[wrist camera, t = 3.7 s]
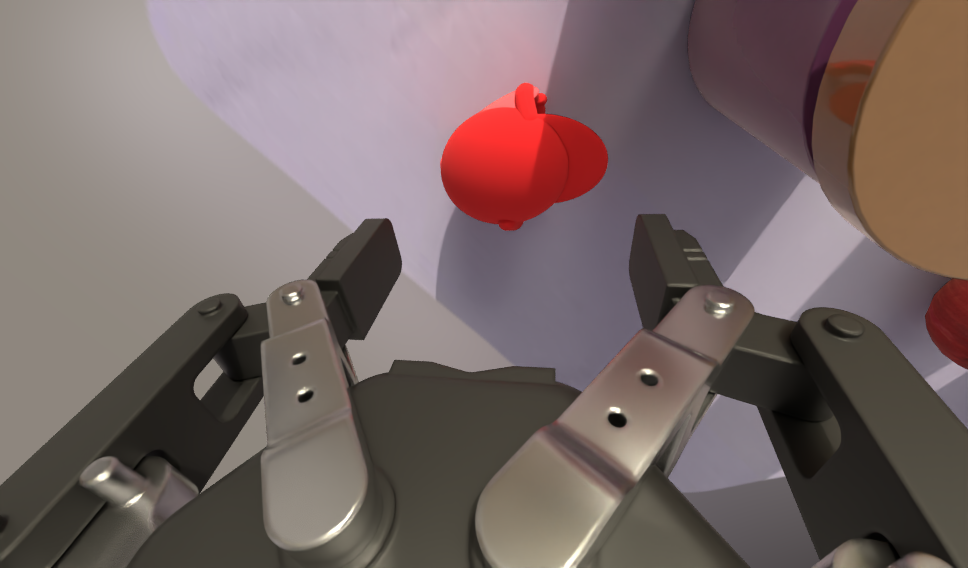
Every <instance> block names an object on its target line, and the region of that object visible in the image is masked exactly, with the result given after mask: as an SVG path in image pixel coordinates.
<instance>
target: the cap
mask: <svg viewBox="0 0 968 568" xmlns="http://www.w3.org/2000/svg"><path fill="white" fill-rule="evenodd" d="M538 92H539V89H538V88H537V87H534V86H532V85H531V84H529V83H523V84H521V85H520V86H519V87H518V88H517V89H516V91H514V92H511V93H509V94H507V95H505V96H503V97H502V98H500V99H498V100H496V101H495V102H493V103H492V104H490V105H489V106H487V107H486V108H484V109H483V110H482V111H480V112H479V113H477V114H476V115H474V116H472V117H470V118H469V119H467V120H466V121H465V122H464V123H462V124H461V125H460V126H459V127H458V128H457V129H456V130H455V132H454V133H453V134H452V136H451V137H450V139H449V140H448V142H447V144H446V146H445V149H444V152H443V155H442V159H441V162H440V167H441V177H442V182H443V185H444V188H445V190H446V192H447V194H448V196H449V197H450V199H451V200H452V202H453V203H454V204H455V205H456V206H457V207H458V208H459V209H460V210H461V211H463V212H464V213H466V214H467V215H469V216H471V217H473V218H475V219H477V220H480V221H483V222H487V223H492V224H499V227H500V228H501V229H503V230H505V231H510V230H517V229H519V228H520V227H521V226H522V224H523V222H524V221H526V220H529V219H531V218H534V217H536V216H538V215H539V214H541V213H543V212H544V211H546V210H547V209H548V208H549V207H551V206H552V205H553V204H554V203H559V202H564V201H568V200H571V199H574V198H577V197H579V196H581V195H583V194H585V193H587V192H588V191H590V190H591V189H592V188H594V187H595V186H596V185H597V184H598V183H599V182H600V180H601V179H602V177H603V176H604V174H605V172H606V169H607V165H608V154H607V150H606V147H605V145H604V143H603V142H602V140H601V139H600V137H599V136H598V135H597V134H596V133H595V132H594V131H593V130H591V129H590V128H589V127H587V126H586V125H584V124H582V123H580V122H578V121H576V120H573V119H570V118H567V117H563V116H559V115H552V114H545V106H544V105H545V104H546V102H547V97H546V95H545V94H542V93H538Z"/></svg>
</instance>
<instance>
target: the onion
mask: <svg viewBox="0 0 968 568" xmlns="http://www.w3.org/2000/svg"><path fill="white" fill-rule="evenodd" d="M925 320H926V327H927V330H928V332H929V335H930V337H931V339H932V341H933V342H934V343H935V345H936V346H937V347H938V348H939V350H940V351H941V352H942V354H944V355H945V356H947V357H948V358H949V359H951V360H952V361H953V362H955V363H956V364H958V365H960V366H962V367H964V368H966V369H968V280H962V279H955V278H952V279H951V280H950V281H949V282H947V283H946V284H945V285H944V286H943V287H942V288H941V289H940V290H939V291H938V292H937V293H936V294H935V295H934V297H933V299H932V301H931V304H930V306H929V308H928V310H927V313H926V315H925Z"/></svg>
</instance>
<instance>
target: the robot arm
mask: <svg viewBox="0 0 968 568" xmlns="http://www.w3.org/2000/svg"><path fill="white" fill-rule="evenodd" d="M401 268H402V260H401V255H400V251H399V248H398V244H397V241H396V237H395V233H394V230H393V226H392V223H391V221H390V220H389V219H387V218H385V219H365V220H364V221H363V222H362V224H361V225H360V226H359V227H358V228H357V230H356V231H355V232H354V233H352V234H350V235H349V236H347V237H346V238H344V239H343V240H341V241H340V242H339V243H338V244H337V245H336V246H335V248H334V249H333V251H332V252H330V253H329V254H328V256H327V257H326V259H324V260H323V261H322V263H321V264H320V265H319V266H318V267H317V268H316V269H315V271H314V272H313V273H312V274H311V275H310V276H309V278H308V279H307V280H297V281H293V282H289V283H287V284H285V285H283V286H281V287H279V288H277V289H276V290H275V291H273V292H272V293H271V294H270V295H269V297H268V299H267V301H266V303H261V304H256V305H251V306H246V307H244V306H243V305H242V303H241V301H240V299H239V298H238V297H237V296H236V295H234V294H229V293H228V294H219V295H215V296H212V297H209V298H207V299H205V300H203V301H201V302H199V303H197V304H196V305H194V306H193V307H192V308H190V309H189V310H188V311H187V312H186V313H185V314H184V315H183V316H182V317H181V318H180V319H179V320H178V321H176V322H175V323H174V324H173V325H172V326H171V327H170V328H169V329H168V330H167V331H166V332H165V333H164V334H162V335H161V336H160V337H159V338H158V339H157V340H156V341H155V342H154V343H153V344H152V345H151V346H150V347H148V348H147V349H146V350H145V351H144V352H143V353H142V354H141V355H140V356H139V357H138V358H137V359H136V360H135V361H133V362H132V363H131V364H130V365H129V366H128V367H127V368H126V369H125V370H124V371H123V372H122V373H121V374H120V375H118V376H117V377H116V378H115V379H114V380H113V381H112V382H111V383H110V384H109V385H108V386H107V387H106V388H105V389H103V390H102V391H101V392H100V393H99V394H98V395H97V396H96V397H95V398H94V399H93V400H92V401H91V402H90V403H89V404H88V405H86V406H85V407H84V408H83V409H82V410H81V411H80V412H79V413H78V414H77V415H76V416H75V417H73V418H72V419H71V420H70V421H69V422H68V423H67V424H66V425H65V426H64V427H63V428H62V429H61V430H60V431H58V432H57V433H56V434H55V435H54V436H53V437H52V438H51V439H50V440H49V441H48V442H47V443H46V444H45V445H43V446H42V447H41V448H40V449H39V450H38V451H37V452H36V453H35V454H34V455H33V456H32V457H31V458H30V459H28V460H27V461H26V462H25V463H24V464H23V465H22V466H21V467H20V468H19V469H18V470H17V471H16V472H15V473H14V474H13V475H12V476H10V477H9V478H8V479H7V480H6V481H5V482H4V483H3V484H2V485H1V486H0V568H750V567H749V565H748V564H747V563H746V562H745V561H744V560H743V559H742V558H741V557H740V556H739V555H738V554H737V553H736V552H735V550H734V549H733V548H732V547H731V546H730V545H729V544H728V543H727V542H726V541H725V540H724V538H722V536H721V535H720V534H719V533H718V532H717V531H716V530H715V529H714V528H713V527H712V526H711V525H710V523H709V522H708V521H707V520H706V519H705V518H704V517H703V516H702V515H701V514H700V513H699V512H698V510H697V509H696V508H695V507H694V506H693V505H692V504H691V503H690V502H689V501H688V500H687V499H686V497H685V496H684V495H683V494H682V493H681V492H680V491H679V490H678V489H677V488H676V487H675V486H674V484H673V483H672V482H671V481H670V480H669V479H668V477H669V475H670V473H671V472H672V470H673V468H674V466H675V465H676V463H677V461H678V459H679V457H680V455H681V453H682V451H683V449H684V448H685V446H686V444H687V442H688V441H689V439H690V437H691V436H692V434H693V433H694V431H695V429H696V428H697V426H698V425H699V423H700V421H701V420H702V418H703V417H704V415H705V413H706V412H707V410H708V409H709V407H710V405H711V404H712V402H713V401H714V399H715V397H716V396H717V394H720V395H723V396H726V397H730V398H733V399H736V400H739V401H743V402H746V403H749V404H752V405H756V406H757V408H758V410H759V413H760V415H761V418H762V420H763V423H764V425H765V427H766V430H767V432H768V435H769V437H770V440H771V442H772V445H773V447H774V449H775V452H776V454H777V457H778V459H779V462H780V464H781V466H782V469H783V471H784V474H785V476H786V478H787V481H788V484H789V486H790V488H791V491H792V493H793V496H794V498H795V501H796V503H797V505H798V508H799V510H800V513H801V515H802V517H803V520H804V522H805V525H806V527H807V530H808V532H809V535H810V537H811V540H812V542H813V544H814V547H815V549H816V552H817V554H818V557H819V559H820V561H819V562H818V563H817V564H815V565H814V566H813V567H812V568H968V429H967V428H966V427H965V426H964V425H963V423H962V422H961V421H960V420H959V419H958V418H957V416H956V415H955V414H954V413H953V412H952V411H951V410H950V408H949V407H948V406H947V405H946V404H945V403H944V401H943V400H942V399H941V398H940V397H939V396H938V395H937V393H936V392H935V391H934V390H933V389H932V388H931V386H930V385H929V384H928V383H927V382H926V381H925V380H924V378H923V377H922V376H921V375H920V374H919V373H918V371H917V370H916V369H915V368H914V367H913V366H912V365H911V363H910V362H909V361H908V360H907V359H906V358H905V356H904V355H903V354H902V353H901V352H900V351H899V350H898V348H897V347H896V346H895V345H894V344H893V343H892V341H891V340H890V339H889V338H888V337H887V336H886V335H885V333H884V332H883V331H882V330H881V329H880V328H878V327H877V326H876V325H875V324H873V323H872V322H870V321H868V320H866V319H864V318H863V317H860V316H858V315H856V314H853V313H850V312H847V311H844V310H840V309H834V308H826V307H819V308H812V309H808V310H806V311H805V312H803V313H802V315H801V316H800V318H799V320H798V322H794V321H789V320H785V319H780V318H775V317H771V316H766V315H762V314H759V313H756V312H754V307H753V305H752V303H751V302H750V301H749V300H748V299H747V298H746V297H745V296H743V295H742V294H740V293H738V292H736V291H734V290H732V289H729V288H726V287H723V285H722V283H721V282H720V280H719V278H718V276H717V275H716V273H715V271H714V269H713V268H712V266H711V264H710V262H709V261H708V260H707V257H706V255H705V254H704V252H702V248H701V247H700V245H699V243H698V241H697V240H696V239H695V238H694V237H693V236H691V235H690V234H688V233H687V232H685V231H684V230H673V228H672V226H671V224H670V222H669V220H668V218H667V216H666V215H665V214H639V215H638V216H637V219H636V223H635V229H634V235H633V241H632V247H631V253H630V260H629V275H630V280H631V283H632V287H633V291H634V295H635V299H636V302H637V306H638V310H639V314H640V318H641V321H642V325H643V328H642V329H641V330H639V331H638V332H637V333H636V335H635V336H634V337H633V338H632V339H631V340H630V341H629V342H628V343H627V344H626V345H625V346H624V348H623V349H622V350H621V351H620V352H619V353H618V354H617V355H616V356H615V357H614V358H613V359H612V361H611V362H610V363H609V364H608V365H607V366H606V367H605V368H604V369H603V370H602V371H601V372H600V373H599V375H598V376H597V377H596V378H595V379H594V380H593V381H592V382H591V383H590V384H589V385H588V386H587V388H586V389H585V390H584V391H583V392H581V391H579V390H577V389H575V388H573V387H571V386H568V385H566V384H563V383H560V382H556V381H555V368H538V367H520V366H511V367H505V368H499V369H492V370H485V371H479V372H465V371H462V370H458V369H455V368H451V367H448V366H444V365H441V364H437V363H434V362H426V361H406V360H394V362H393V364H392V367H391V369H390V371H389V372H388V373H383V374H379V375H375V376H373V377H370V378H367V379H365V380H363V381H361V382H359V381H358V378H357V376H356V373H355V370H354V367H353V364H352V361H351V358H350V355H349V352H348V350H347V348H346V345H345V344H346V342H347V341H348V339H352V340H364V339H365V337H366V335H367V333H368V331H369V330H370V328H371V326H372V324H373V322H374V321H375V319H376V317H377V315H378V313H379V311H380V309H381V308H382V306H383V304H384V302H385V301H386V299H387V297H388V295H389V293H390V291H391V290H392V288H393V286H394V284H395V282H396V281H397V279H398V277H399V275H400V273H401ZM212 359H214V360H215V361H216V362H217V364H218V365H219V366H220V367H221V369H222V370H223V371H224V372H223V373H222V374H221V376H220V377H219V378H218V379H217V380H216V382H215V383H214V384H213V385H212V387H211V388H210V389H209V390H208V392H207V393H206V394H205V395H204V397H203V398H202V399H201V400H199V399H198V398H197V397H196V395H195V393H194V390H193V387H194V382H195V379H196V378H197V376H198V375H199V373H200V372H201V371H202V370H203V369H204V368H205V367H206V365H207V364H208V363H209V362H210V361H211V360H212ZM263 396H264V404H265V418H266V431H267V432H266V433H267V447H265V448H264V449H262V450H261V451H260V452H258V453H257V454H255V455H254V456H253V457H251V458H250V459H249V460H247V461H246V462H244V463H243V464H241V465H240V466H239V467H237V468H236V469H234V470H233V471H232V472H230V473H229V474H227V475H226V476H224V477H223V478H222V479H220V480H219V481H217V482H216V483H215V484H213V485H212V486H210V487H209V488H208V489H206V490H205V491H203V492H202V493H201V494H200V492H201V491H202V489H203V488H204V486H205V485H206V483H207V482H208V480H209V479H210V477H211V476H212V474H213V473H214V471H215V470H216V468H217V466H218V465H219V463H220V462H221V460H222V459H223V457H224V456H225V454H226V452H227V451H228V450H229V448H230V447H231V445H232V444H233V442H234V441H235V439H236V437H237V436H238V434H239V432H240V431H241V430H242V428H243V427H244V425H245V424H246V422H247V420H248V419H249V418H250V416H251V415H252V413H253V411H254V410H255V408H256V407H257V405H258V404H259V402H260V401H261V399H262V398H263Z"/></svg>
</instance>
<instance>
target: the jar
mask: <svg viewBox="0 0 968 568" xmlns="http://www.w3.org/2000/svg"><path fill="white" fill-rule="evenodd" d="M688 59H689V66H690V70H691V74H692V77H693V80H694V82H695V84H696V86H697V89H698V90H699V92H700V93H701V95H702V96H703V98H704V99H705V100H706V101H707V102H708V103H709V104H710V105H711V106H712V107H713V108H715V109H716V110H718V111H719V112H720V113H722V114H723V115H724V116H726V117H727V118H729V119H730V120H731V121H733V122H734V123H736V124H737V125H738V126H740V127H741V128H743V129H744V130H745V131H747V132H748V133H750V134H751V135H752V136H754V137H755V138H756V139H758V140H759V141H761V142H762V143H763V144H765V145H766V146H768V147H769V148H770V149H772V150H773V151H775V152H776V153H777V154H779V155H780V156H781V157H783V158H784V159H786V160H787V161H788V162H790V163H791V164H793V165H794V166H795V167H797V168H798V169H800V170H801V171H802V172H804V173H805V174H807V175H808V176H809V177H811V178H812V179H813V180H815V181H816V182H818V183H819V184H820V186H821V189H822V190H823V192H824V194H825V196H826V197H827V199H828V201H829V202H830V204H831V206H832V207H833V208H834V209H835V210H836V211H837V212H838V213H839V214H840V215H841V216H842V217H843V218H844V220H846V221H847V222H848V223H850V224H851V225H852V226H853V227H855V228H856V229H857V230H859V231H860V232H861V233H862V234H864V235H865V236H866V237H867V238H869V239H870V240H871V241H873V242H874V243H875V244H876V245H878V246H879V247H880V248H882V249H883V250H885V251H886V252H887V253H889V254H890V255H892V256H893V257H895V258H896V259H897V260H900V261H902V262H904V263H906V264H908V265H910V266H913V267H915V268H917V269H919V270H923V271H926V272H930V273H933V274H937V275H940V276H944V277H949V278H955V279H962V280H968V0H695V3H694V7H693V11H692V15H691V19H690V25H689V32H688Z"/></svg>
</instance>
